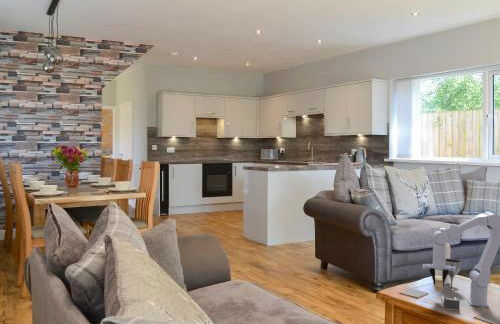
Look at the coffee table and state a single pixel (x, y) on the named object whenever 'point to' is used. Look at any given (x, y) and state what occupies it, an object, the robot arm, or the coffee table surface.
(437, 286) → the tan wooden block
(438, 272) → the bottle
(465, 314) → the coffee table surface
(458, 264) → the wine glass
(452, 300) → the endcap rail
